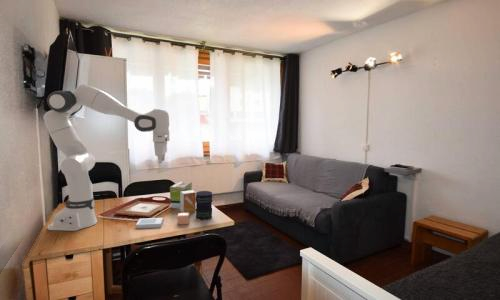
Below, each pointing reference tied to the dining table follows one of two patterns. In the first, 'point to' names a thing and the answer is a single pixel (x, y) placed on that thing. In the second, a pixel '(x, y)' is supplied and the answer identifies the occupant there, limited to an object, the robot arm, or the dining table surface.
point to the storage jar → (203, 205)
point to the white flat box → (149, 222)
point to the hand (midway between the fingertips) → (161, 162)
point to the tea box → (178, 192)
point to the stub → (183, 218)
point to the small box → (188, 201)
